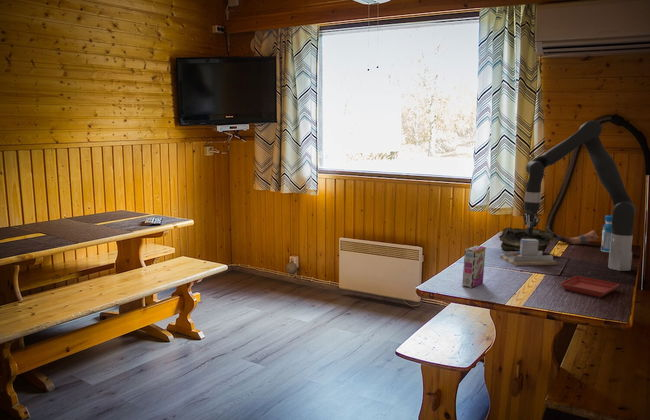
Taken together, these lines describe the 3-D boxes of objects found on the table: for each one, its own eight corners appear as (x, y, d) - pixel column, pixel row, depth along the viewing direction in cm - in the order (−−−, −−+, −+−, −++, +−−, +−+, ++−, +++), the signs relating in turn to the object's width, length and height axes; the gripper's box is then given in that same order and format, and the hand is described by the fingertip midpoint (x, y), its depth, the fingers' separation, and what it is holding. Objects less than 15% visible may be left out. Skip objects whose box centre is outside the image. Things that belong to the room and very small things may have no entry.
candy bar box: (472, 288, 235) (475, 251, 233) (461, 286, 238) (464, 249, 236) (483, 283, 244) (486, 246, 241) (473, 281, 247) (475, 244, 244)
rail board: (556, 264, 278) (556, 261, 278) (515, 265, 275) (515, 262, 275) (539, 257, 294) (539, 254, 294) (500, 257, 290) (500, 255, 290)
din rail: (552, 260, 281) (553, 255, 280) (513, 261, 277) (514, 256, 277) (541, 255, 291) (541, 250, 291) (503, 256, 288) (504, 251, 287)
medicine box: (535, 255, 286) (536, 239, 284) (537, 257, 281) (538, 240, 280) (519, 255, 286) (520, 238, 285) (521, 257, 282) (522, 240, 281)
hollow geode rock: (551, 262, 302) (554, 239, 309) (552, 250, 292) (555, 226, 299) (497, 255, 313) (502, 233, 320) (496, 243, 303) (501, 220, 311)
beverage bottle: (608, 253, 305) (611, 217, 302) (596, 249, 313) (600, 214, 310) (620, 252, 307) (624, 217, 304) (609, 249, 315) (612, 214, 312)
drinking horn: (598, 246, 323) (600, 229, 321) (545, 243, 328) (547, 226, 327) (596, 244, 328) (598, 227, 326) (544, 241, 334) (545, 225, 332)
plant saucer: (558, 290, 237) (559, 282, 236) (576, 282, 249) (576, 274, 249) (603, 300, 224) (604, 292, 224) (619, 291, 237) (619, 283, 236)
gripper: (546, 202, 274) (543, 237, 276) (532, 198, 287) (529, 231, 289) (532, 202, 272) (529, 237, 275) (518, 199, 285) (516, 232, 288)
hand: (529, 234), depth 282 cm, fingers closed
